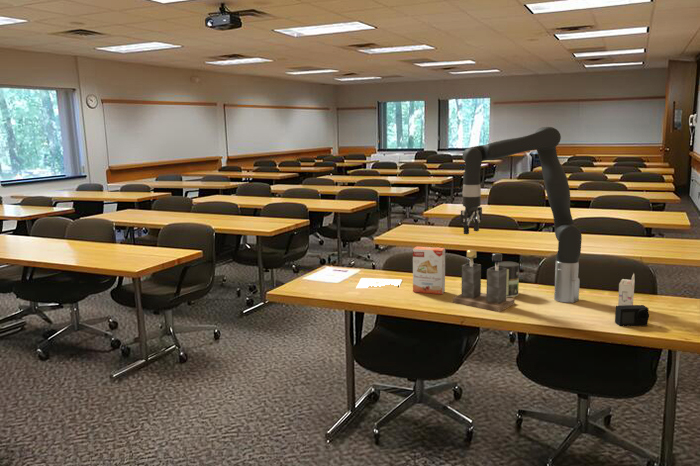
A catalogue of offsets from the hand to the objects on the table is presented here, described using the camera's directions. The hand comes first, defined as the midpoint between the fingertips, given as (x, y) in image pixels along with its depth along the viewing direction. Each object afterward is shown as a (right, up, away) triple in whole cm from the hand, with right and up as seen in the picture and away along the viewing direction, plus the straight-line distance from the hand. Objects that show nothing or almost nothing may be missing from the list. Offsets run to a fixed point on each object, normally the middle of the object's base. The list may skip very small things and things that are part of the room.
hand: (471, 232), depth 242 cm
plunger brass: (+1, -26, +5) cm, 26 cm away
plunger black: (+10, -27, -3) cm, 29 cm away
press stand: (+6, -30, +2) cm, 31 cm away
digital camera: (+54, -35, -29) cm, 71 cm away
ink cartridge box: (+60, -32, -12) cm, 69 cm away
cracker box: (-15, -28, +20) cm, 37 cm away
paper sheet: (-39, -27, +30) cm, 56 cm away
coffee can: (+19, -28, +13) cm, 36 cm away
